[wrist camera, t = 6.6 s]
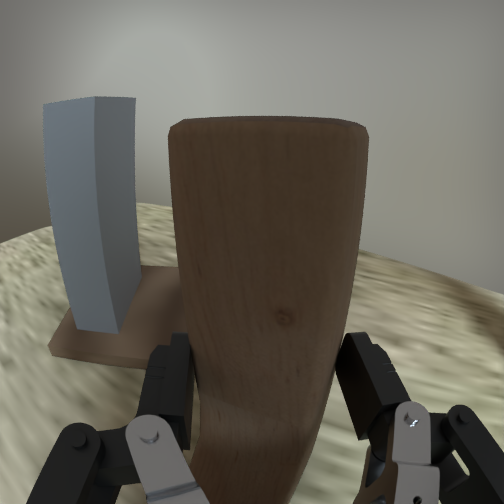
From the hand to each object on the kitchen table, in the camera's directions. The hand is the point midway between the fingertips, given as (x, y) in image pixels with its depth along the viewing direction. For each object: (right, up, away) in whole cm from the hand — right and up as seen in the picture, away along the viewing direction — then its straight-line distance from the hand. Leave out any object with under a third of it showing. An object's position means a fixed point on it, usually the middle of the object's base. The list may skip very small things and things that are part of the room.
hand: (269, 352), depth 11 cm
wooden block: (-1, -10, +2) cm, 10 cm away
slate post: (-14, -1, +16) cm, 21 cm away
